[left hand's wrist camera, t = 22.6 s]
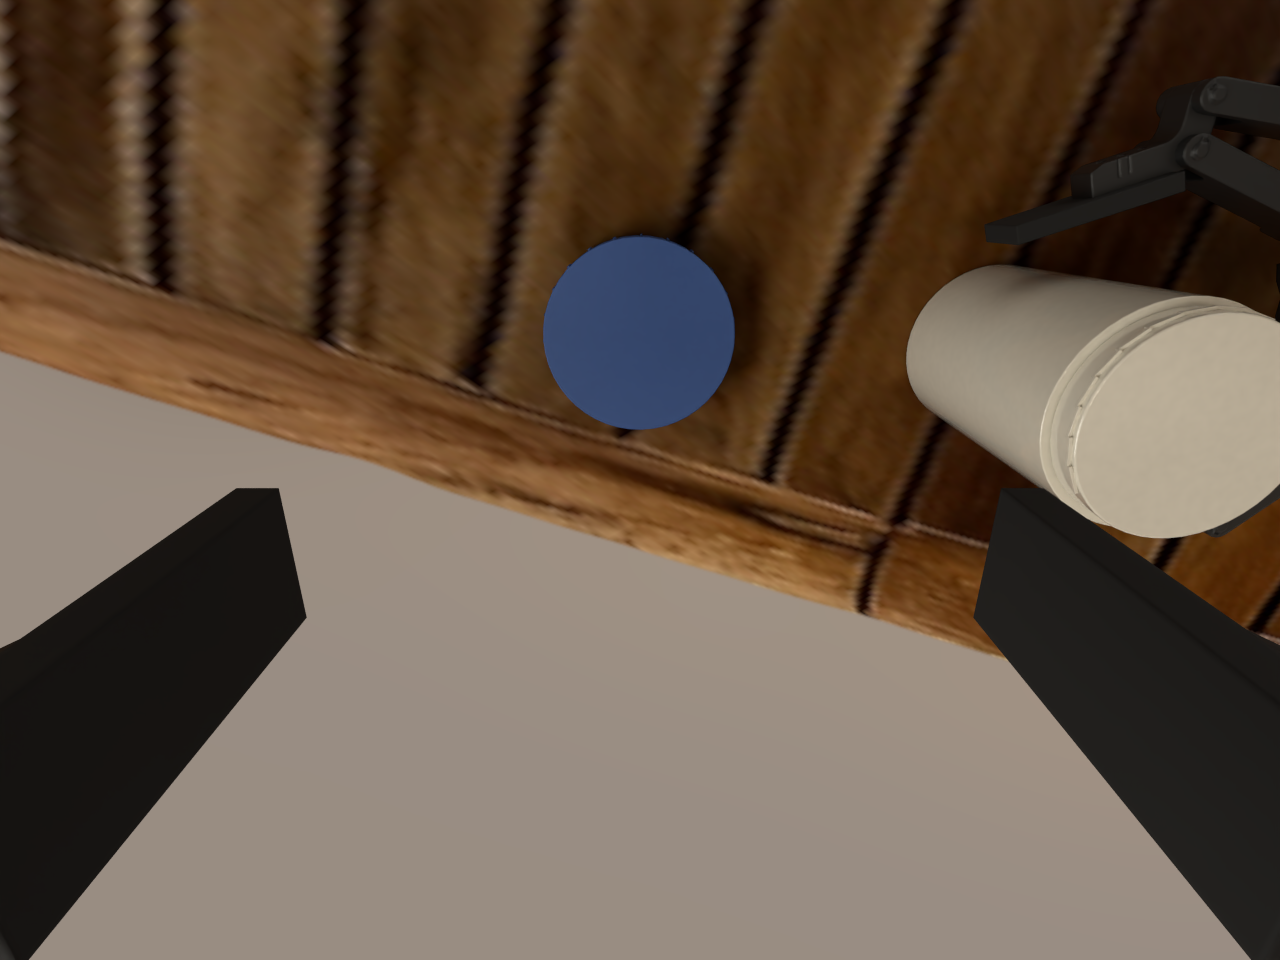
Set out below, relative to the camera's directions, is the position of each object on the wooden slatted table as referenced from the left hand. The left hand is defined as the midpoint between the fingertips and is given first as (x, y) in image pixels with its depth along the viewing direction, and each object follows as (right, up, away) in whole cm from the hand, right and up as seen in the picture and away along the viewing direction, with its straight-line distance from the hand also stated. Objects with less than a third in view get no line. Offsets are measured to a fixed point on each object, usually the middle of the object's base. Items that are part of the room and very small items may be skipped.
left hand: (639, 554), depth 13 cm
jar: (+19, +9, +24) cm, 32 cm away
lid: (0, +9, +23) cm, 24 cm away
